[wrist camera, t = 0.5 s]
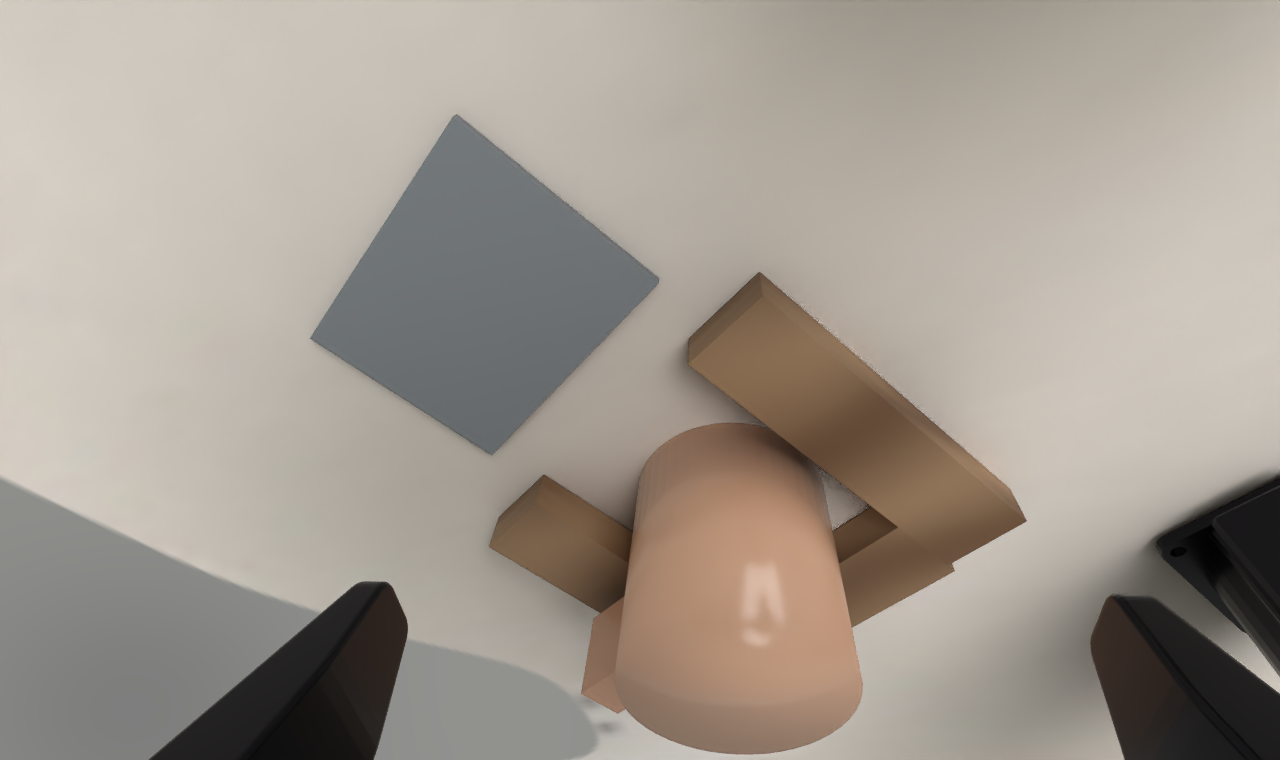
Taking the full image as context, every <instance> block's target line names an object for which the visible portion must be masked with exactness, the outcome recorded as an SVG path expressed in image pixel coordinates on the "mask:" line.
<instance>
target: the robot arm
mask: <svg viewBox="0 0 1280 760" xmlns="http://www.w3.org/2000/svg"><path fill="white" fill-rule="evenodd" d="M1156 548H1157V550H1158V552H1159V553H1160V554H1161V556H1162V557H1163V559H1164V560H1165V561H1166V562H1168V563H1169V564H1170V565H1171V566H1172V567H1173V568H1174V569H1175V570H1176V571H1177V572H1178V573H1180V574H1181V575H1182V576H1183V577H1184V578H1185V579H1186V580H1187V581H1188V582H1189V583H1190V584H1191V585H1193V586H1194V587H1195V588H1196V589H1197V590H1198V591H1199V592H1200V593H1201V594H1202V595H1203V596H1205V597H1206V598H1207V599H1208V600H1209V601H1210V602H1211V603H1212V604H1213V605H1214V606H1215V607H1216V608H1218V609H1219V610H1220V611H1221V612H1222V613H1223V614H1224V615H1225V616H1226V617H1227V618H1228V619H1229V620H1231V621H1232V622H1233V623H1234V624H1235V625H1236V626H1237V627H1238V628H1239V629H1240V630H1241V631H1243V632H1245V633H1247V634H1248V635H1249V637H1250V638H1251V639H1252V641H1253V642H1254V643H1255V645H1256V646H1257V647H1258V649H1259V650H1260V651H1261V653H1262V654H1263V655H1264V656H1265V658H1266V659H1267V660H1268V662H1269V663H1270V664H1271V666H1272V667H1273V668H1274V670H1275V671H1276V672H1277V674H1278V675H1279V676H1280V479H1278V480H1276V481H1274V482H1272V483H1270V484H1268V485H1266V486H1264V487H1262V488H1260V489H1258V490H1256V491H1254V492H1252V493H1250V494H1248V495H1246V496H1244V497H1242V498H1240V499H1238V500H1236V501H1234V502H1232V503H1230V504H1228V505H1226V506H1224V507H1222V508H1220V509H1218V510H1216V511H1214V512H1212V513H1210V514H1208V515H1206V516H1203V517H1201V518H1199V519H1197V520H1195V521H1193V522H1191V523H1189V524H1187V525H1185V526H1183V527H1181V528H1179V529H1177V530H1175V531H1173V532H1171V533H1169V534H1167V535H1165V536H1163V537H1162V538H1160V539H1159V540H1158V541H1157V543H1156ZM407 633H408V624H407V619H406V616H405V614H404V612H403V610H402V607H401V605H400V603H399V601H398V598H397V596H396V594H395V592H394V589H393V587H392V586H391V585H390V584H389V583H387V582H370V581H365V582H360V583H357V584H356V585H354V586H353V587H351V588H350V589H349V590H348V591H347V592H346V593H344V594H343V595H342V596H341V597H340V598H339V599H337V600H336V601H335V602H334V603H333V604H331V605H330V606H329V607H328V608H327V609H326V610H324V611H323V612H322V613H321V614H320V615H318V616H317V617H316V618H315V619H314V620H313V621H311V622H310V623H309V624H308V625H307V626H306V627H304V628H303V629H302V630H301V631H300V632H298V633H297V634H296V635H295V636H294V637H293V638H291V639H290V640H289V641H288V642H287V643H285V644H284V645H283V646H282V647H281V648H280V649H279V650H277V651H276V652H275V653H274V654H273V655H271V656H270V657H269V658H268V659H267V660H266V661H264V662H263V663H262V664H261V665H260V666H258V667H257V668H256V669H255V670H254V671H253V672H251V673H250V674H249V675H248V676H247V677H245V678H244V679H243V680H242V681H241V682H240V683H239V684H237V685H236V686H235V687H234V688H232V689H231V690H230V691H229V692H228V693H227V694H225V695H224V696H223V697H222V698H221V699H220V700H219V701H217V702H216V703H215V704H214V705H212V706H211V707H210V708H209V709H208V710H207V711H205V712H204V713H203V714H202V715H201V716H200V717H198V718H197V719H196V720H195V721H194V722H192V723H191V724H190V725H189V726H188V727H187V728H185V729H184V730H183V731H182V732H181V733H179V734H178V735H177V736H176V737H175V738H174V739H172V740H171V741H170V742H169V743H168V744H167V745H165V746H164V747H163V748H162V749H161V750H159V751H158V752H157V753H156V754H155V755H154V756H152V757H151V758H150V759H149V760H374V757H375V754H376V751H377V748H378V745H379V741H380V738H381V734H382V731H383V727H384V723H385V720H386V716H387V712H388V708H389V704H390V700H391V696H392V693H393V689H394V685H395V681H396V677H397V673H398V670H399V666H400V662H401V658H402V654H403V650H404V647H405V643H406V639H407ZM1090 644H1091V654H1092V658H1093V661H1094V664H1095V667H1096V671H1097V674H1098V677H1099V680H1100V683H1101V686H1102V690H1103V693H1104V696H1105V699H1106V702H1107V705H1108V708H1109V712H1110V715H1111V718H1112V721H1113V724H1114V727H1115V731H1116V734H1117V737H1118V740H1119V743H1120V746H1121V750H1122V753H1123V756H1124V759H1125V760H1280V694H1279V693H1278V692H1277V691H1276V690H1274V689H1273V688H1272V687H1270V686H1269V685H1268V684H1267V683H1265V682H1264V681H1263V680H1261V679H1260V678H1259V677H1257V676H1256V675H1255V674H1254V673H1252V672H1251V671H1250V670H1248V669H1247V668H1246V667H1245V666H1243V665H1242V664H1241V663H1239V662H1238V661H1237V660H1235V659H1234V658H1233V657H1232V656H1230V655H1229V654H1228V653H1226V652H1225V651H1224V650H1222V649H1221V648H1220V647H1219V646H1217V645H1216V644H1215V643H1213V642H1212V641H1211V640H1210V639H1208V638H1207V637H1206V636H1204V635H1203V634H1202V633H1200V632H1199V631H1198V630H1197V629H1195V628H1194V627H1193V626H1191V625H1190V624H1189V623H1188V622H1186V621H1185V620H1184V619H1182V618H1181V617H1180V616H1178V615H1177V614H1176V613H1175V612H1173V611H1172V610H1171V609H1169V608H1168V607H1167V606H1165V605H1164V604H1163V603H1162V602H1160V601H1159V600H1157V599H1156V598H1154V597H1152V596H1149V595H1146V594H1112V595H1111V596H1109V597H1108V598H1107V599H1106V601H1105V603H1104V606H1103V608H1102V611H1101V613H1100V616H1099V618H1098V621H1097V623H1096V626H1095V628H1094V631H1093V633H1092V636H1091V643H1090Z"/></svg>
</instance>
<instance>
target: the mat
mask: <svg viewBox="0 0 1280 760" xmlns="http://www.w3.org/2000/svg"><path fill="white" fill-rule="evenodd" d="M658 283H659V278H658V277H657V276H655V275H654V274H653V273H652V272H650V271H649V270H648V269H647V268H646V267H644V266H643V265H642V264H641V263H639V262H638V261H637V260H636V259H634V258H633V257H632V256H631V255H630V254H628V253H627V252H626V251H625V250H623V249H622V248H621V247H620V246H618V245H617V244H616V243H615V242H614V241H612V240H611V239H610V238H609V237H607V236H606V235H605V234H604V233H602V232H601V231H600V230H599V229H598V228H596V227H595V226H594V225H593V224H591V223H590V222H589V221H588V220H586V219H585V218H584V217H583V216H581V215H580V214H579V213H578V212H577V211H575V210H574V209H573V208H572V207H570V206H569V205H568V204H567V203H565V202H564V201H563V200H562V199H561V198H559V197H558V196H557V195H556V194H554V193H553V192H552V191H551V190H549V189H548V188H547V187H546V186H545V185H543V184H542V183H541V182H540V181H538V180H537V179H536V178H535V177H533V176H532V175H531V174H530V173H528V172H527V171H526V170H525V169H524V168H522V167H521V166H520V165H519V164H517V163H516V162H515V161H514V160H512V159H511V158H510V157H509V156H508V155H506V154H505V153H504V152H503V151H501V150H500V149H499V148H498V147H496V146H495V145H494V144H493V143H492V142H490V141H489V140H488V139H487V138H485V137H484V136H483V135H482V134H480V133H479V132H478V131H477V130H476V129H474V128H473V127H472V126H471V125H469V124H468V123H467V122H466V121H464V120H463V119H462V118H461V117H459V116H458V115H457V114H456V115H455V116H454V117H453V118H452V119H451V121H450V122H449V124H448V126H447V127H446V129H445V130H444V132H443V133H442V135H441V136H440V138H439V139H438V141H437V143H436V144H435V146H434V147H433V149H432V150H431V152H430V153H429V155H428V156H427V158H426V160H425V161H424V163H423V164H422V166H421V167H420V169H419V170H418V172H417V174H416V175H415V177H414V178H413V180H412V181H411V183H410V184H409V186H408V187H407V189H406V191H405V192H404V194H403V195H402V197H401V198H400V200H399V201H398V203H397V204H396V206H395V208H394V209H393V211H392V212H391V214H390V215H389V217H388V218H387V220H386V221H385V223H384V225H383V226H382V228H381V229H380V231H379V232H378V234H377V235H376V237H375V238H374V240H373V242H372V243H371V245H370V246H369V248H368V249H367V251H366V252H365V254H364V256H363V257H362V259H361V260H360V262H359V263H358V265H357V266H356V268H355V269H354V271H353V273H352V274H351V276H350V277H349V279H348V280H347V282H346V283H345V285H344V286H343V288H342V290H341V291H340V293H339V294H338V296H337V297H336V299H335V300H334V302H333V303H332V305H331V307H330V308H329V310H328V311H327V313H326V314H325V316H324V317H323V319H322V320H321V322H320V324H319V325H318V327H317V328H316V330H315V331H314V333H313V334H312V336H311V338H310V339H312V340H313V341H315V342H316V343H318V344H319V345H321V346H323V347H324V348H326V349H327V350H329V351H330V352H332V353H333V354H335V355H337V356H338V357H340V358H341V359H343V360H344V361H346V362H347V363H349V364H351V365H352V366H354V367H355V368H357V369H358V370H360V371H361V372H363V373H365V374H366V375H368V376H369V377H371V378H372V379H374V380H375V381H377V382H379V383H380V384H382V385H383V386H385V387H386V388H388V389H389V390H391V391H393V392H394V393H396V394H397V395H399V396H400V397H402V398H403V399H405V400H407V401H408V402H410V403H411V404H413V405H414V406H416V407H417V408H419V409H421V410H422V411H424V412H425V413H427V414H428V415H430V416H431V417H433V418H435V419H436V420H438V421H439V422H441V423H442V424H444V425H445V426H447V427H449V428H450V429H452V430H453V431H455V432H456V433H458V434H459V435H461V436H463V437H464V438H466V439H467V440H469V441H470V442H472V443H473V444H475V445H477V446H478V447H480V448H481V449H483V450H484V451H486V452H487V453H489V454H491V455H492V454H493V453H494V452H495V451H496V450H497V449H498V448H499V447H500V446H501V445H502V444H503V443H504V442H505V441H506V440H507V439H508V438H509V437H510V436H511V435H512V434H513V433H514V432H515V431H516V430H517V428H518V427H519V426H520V425H521V424H522V423H523V422H524V421H525V420H526V419H527V418H528V417H529V416H530V415H531V414H532V413H533V412H534V411H535V410H536V409H537V408H538V407H539V406H540V405H541V404H542V403H543V402H544V401H545V400H546V399H547V398H548V397H549V396H550V394H551V393H552V392H553V391H554V390H555V389H556V388H557V387H558V386H559V385H560V384H561V383H562V382H563V381H564V380H565V379H566V378H567V377H568V376H569V375H570V374H571V373H572V372H573V371H574V370H575V369H576V368H577V367H578V366H579V365H580V364H581V363H582V361H583V360H584V359H585V358H586V357H587V356H588V355H589V354H590V353H591V352H592V351H593V350H594V349H595V348H596V347H597V346H598V345H599V344H600V343H601V342H602V341H603V340H604V339H605V338H606V337H607V336H608V335H609V334H610V333H611V332H612V331H613V330H614V329H615V327H616V326H617V325H618V324H619V323H620V322H621V321H622V320H623V319H624V318H625V317H626V316H627V315H628V314H629V313H630V312H631V311H632V310H633V309H634V308H635V307H636V306H637V305H638V304H639V303H640V302H641V301H642V300H643V299H644V298H645V297H646V296H647V295H648V293H649V292H650V291H651V290H652V289H653V288H654V287H655V286H656V285H657V284H658Z"/></svg>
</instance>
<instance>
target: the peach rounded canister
mask: <svg viewBox="0 0 1280 760" xmlns="http://www.w3.org/2000/svg"><path fill="white" fill-rule="evenodd" d="M862 689H863V683H862V678H861V673H860V668H859V663H858V657H857V652H856V647H855V642H854V637H853V632H852V627H851V622H850V617H849V612H848V607H847V602H846V597H845V592H844V587H843V582H842V577H841V572H840V567H839V562H838V557H837V551H836V546H835V541H834V536H833V531H832V526H831V521H830V516H829V511H828V506H827V501H826V496H825V491H824V486H823V481H822V476H821V474H820V471H819V469H818V467H817V465H816V463H815V462H813V461H812V460H811V459H809V458H808V457H807V456H806V455H804V454H803V453H802V452H800V451H799V450H798V449H796V448H795V447H794V446H793V445H791V444H790V443H789V442H787V441H786V440H785V439H784V438H782V437H781V436H780V435H778V434H777V433H776V432H775V431H773V430H770V429H767V428H764V427H760V426H756V425H750V424H742V423H720V424H711V425H706V426H701V427H697V428H694V429H691V430H688V431H686V432H683V433H681V434H679V435H677V436H675V437H673V438H672V439H670V440H668V441H667V442H666V443H664V444H663V445H662V446H660V447H659V448H658V449H657V450H656V451H655V452H654V453H653V454H652V456H651V457H650V458H649V460H648V461H647V463H646V465H645V466H644V468H643V470H642V473H641V476H640V480H639V487H638V495H637V503H636V511H635V519H634V527H633V534H632V542H631V550H630V558H629V566H628V574H627V582H626V589H625V596H624V597H623V598H621V599H620V600H619V601H617V602H616V603H614V604H613V605H612V606H610V607H609V608H607V609H606V610H605V611H603V612H602V613H601V614H599V615H598V616H596V617H595V618H594V619H593V625H592V631H591V637H590V643H589V649H588V655H587V661H586V667H585V673H584V679H583V685H582V691H581V694H583V695H584V696H586V697H588V698H590V699H592V700H594V701H596V702H597V703H599V704H601V705H603V706H605V707H607V708H609V709H610V710H612V711H614V712H616V713H619V712H621V711H623V710H624V709H626V710H627V711H628V712H629V713H630V714H631V715H632V716H633V717H634V718H635V719H636V720H637V721H638V722H639V723H641V724H642V725H643V726H645V727H646V728H648V729H649V730H651V731H653V732H654V733H656V734H658V735H660V736H662V737H664V738H666V739H668V740H671V741H674V742H676V743H679V744H682V745H685V746H689V747H692V748H696V749H700V750H705V751H710V752H717V753H726V754H766V753H774V752H781V751H786V750H790V749H795V748H798V747H801V746H805V745H808V744H810V743H813V742H815V741H818V740H820V739H822V738H824V737H826V736H828V735H830V734H831V733H833V732H834V731H836V730H837V729H839V728H840V727H841V726H842V725H843V724H845V723H846V722H847V721H848V720H849V719H850V717H851V716H852V715H853V714H854V712H855V711H856V709H857V707H858V705H859V703H860V700H861V696H862Z"/></svg>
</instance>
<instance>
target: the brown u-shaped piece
mask: <svg viewBox="0 0 1280 760" xmlns="http://www.w3.org/2000/svg"><path fill="white" fill-rule="evenodd" d="M688 365H689V366H691V367H692V368H693V369H694V370H696V371H697V372H698V373H700V374H701V375H702V376H703V377H705V378H706V379H707V380H709V381H710V382H711V383H712V384H714V385H715V386H716V387H718V388H719V389H720V390H722V391H723V392H724V393H725V394H727V395H728V396H729V397H731V398H732V399H733V400H734V401H736V402H737V403H738V404H740V405H741V406H742V407H744V408H745V409H746V410H747V411H749V412H750V413H751V414H753V415H754V416H755V417H756V418H758V419H759V420H760V421H762V422H763V423H764V424H765V425H767V426H768V427H769V428H771V429H772V430H773V431H775V432H776V433H777V434H778V435H780V436H781V437H782V438H784V439H785V440H786V441H787V442H789V443H790V444H791V445H793V446H794V447H795V448H796V449H798V450H799V451H800V452H802V453H803V454H804V455H806V456H807V457H808V458H809V459H811V460H812V461H813V462H815V463H816V464H817V465H818V466H820V467H821V468H822V469H824V470H825V471H826V472H828V473H829V474H830V475H831V476H833V477H834V478H835V479H837V480H838V481H839V482H840V483H842V484H843V485H844V486H846V487H847V488H848V489H849V490H851V491H852V492H853V493H855V494H856V495H857V496H859V497H860V498H861V499H862V500H864V501H865V502H866V503H868V504H869V505H870V506H871V508H869V509H867V510H866V511H864V512H863V513H861V514H860V515H858V516H857V517H855V518H853V519H852V520H850V521H849V522H847V523H846V524H844V525H843V526H841V527H839V528H838V529H836V530H835V531H833V536H834V541H835V546H836V551H837V557H838V562H839V567H840V572H841V577H842V582H843V587H844V592H845V597H846V602H847V607H848V612H849V617H850V622H851V627H854V626H856V625H857V624H859V623H861V622H863V621H865V620H866V619H868V618H870V617H872V616H874V615H876V614H877V613H879V612H881V611H883V610H885V609H887V608H888V607H890V606H892V605H894V604H896V603H897V602H899V601H901V600H903V599H905V598H907V597H908V596H910V595H912V594H914V593H916V592H917V591H919V590H921V589H923V588H925V587H927V586H928V585H930V584H932V583H934V582H936V581H937V580H939V579H941V578H943V577H945V576H947V575H948V574H950V573H952V572H954V571H955V570H954V568H953V565H952V563H953V562H954V561H956V560H958V559H960V558H962V557H963V556H965V555H967V554H969V553H971V552H972V551H974V550H976V549H978V548H980V547H981V546H983V545H985V544H987V543H989V542H990V541H992V540H994V539H996V538H998V537H999V536H1001V535H1003V534H1005V533H1007V532H1008V531H1010V530H1012V529H1014V528H1015V527H1017V526H1019V525H1021V524H1023V523H1024V522H1026V521H1027V520H1026V518H1025V516H1024V515H1023V513H1022V511H1021V509H1020V507H1019V505H1018V503H1017V501H1016V499H1015V497H1014V496H1013V494H1012V492H1011V490H1010V489H1009V488H1008V487H1007V486H1006V485H1005V484H1004V483H1003V482H1001V481H1000V480H999V479H998V478H997V477H996V476H995V475H993V474H992V473H991V472H990V471H989V470H988V469H986V468H985V467H984V466H983V465H982V464H981V463H980V462H978V461H977V460H976V459H975V458H974V457H973V456H971V455H970V454H969V453H968V452H967V451H966V450H965V449H963V448H962V447H961V446H960V445H959V444H958V443H956V442H955V441H954V440H953V439H952V438H951V437H950V436H948V435H947V434H946V433H945V432H944V431H943V430H941V429H940V428H939V427H938V426H937V425H936V424H935V423H933V422H932V421H931V420H930V419H929V418H928V417H926V416H925V415H924V414H923V413H922V412H921V411H920V410H918V409H917V408H916V407H915V406H914V405H913V404H911V403H910V402H909V401H908V400H907V399H906V398H905V397H903V396H902V395H901V394H900V393H899V392H898V391H896V390H895V389H894V388H893V387H892V386H891V385H890V384H888V383H887V382H886V381H885V380H884V379H883V378H881V377H880V376H879V375H878V374H877V373H876V372H875V371H873V370H872V369H871V368H870V367H869V366H868V365H866V364H865V363H864V362H863V361H862V360H861V359H860V358H858V357H857V356H856V355H855V354H854V353H853V352H851V351H850V350H849V349H848V348H847V347H846V346H845V345H843V344H842V343H841V342H840V341H839V340H838V339H837V338H835V337H834V336H833V335H832V334H831V333H830V332H828V331H827V330H826V329H825V328H824V327H823V326H822V325H820V324H819V323H818V322H817V321H816V320H815V319H813V318H812V317H811V316H810V315H809V314H808V313H807V312H805V311H804V310H803V309H802V308H801V307H800V306H798V305H797V304H796V303H795V302H794V301H793V300H792V299H790V298H789V297H788V296H787V295H786V294H785V293H783V292H782V291H781V290H780V289H779V288H778V287H777V286H775V285H774V284H773V283H772V282H771V281H770V280H768V279H767V278H766V277H765V276H764V275H763V274H762V273H760V272H759V273H758V274H757V275H756V276H755V277H754V278H753V279H752V280H751V281H749V282H748V283H747V284H746V285H745V286H744V287H743V288H742V289H741V290H740V291H739V292H738V293H737V294H736V295H735V296H734V297H732V298H731V299H730V300H729V301H728V302H727V303H726V304H725V305H724V306H723V307H722V308H721V309H720V310H719V311H718V312H717V313H715V314H714V315H713V316H712V317H711V318H710V319H709V320H708V321H707V322H706V323H705V324H704V325H703V326H702V327H701V328H700V329H698V330H697V331H696V332H695V333H694V334H693V335H692V336H691V337H690V338H689V353H688ZM632 534H633V532H631V531H630V530H628V529H627V528H625V527H624V526H622V525H621V524H619V523H618V522H616V521H614V520H613V519H611V518H610V517H608V516H607V515H605V514H604V513H602V512H601V511H599V510H598V509H596V508H594V507H593V506H591V505H590V504H588V503H587V502H585V501H584V500H582V499H581V498H579V497H578V496H576V495H575V494H573V493H571V492H570V491H568V490H567V489H565V488H564V487H562V486H561V485H559V484H558V483H556V482H555V481H553V480H551V479H550V478H548V477H547V476H545V475H543V476H542V477H541V478H540V479H539V480H538V481H537V482H536V483H535V484H534V485H533V486H532V487H531V488H529V489H528V490H527V491H526V492H525V493H524V494H523V495H522V496H521V497H520V498H519V499H518V500H517V501H516V502H515V503H514V504H512V505H511V506H510V507H509V508H508V509H507V510H506V511H505V512H504V513H503V514H502V515H501V516H500V517H499V519H498V522H497V525H496V528H495V530H494V533H493V536H492V539H491V542H490V545H489V547H490V548H492V549H493V550H495V551H497V552H499V553H500V554H502V555H504V556H505V557H507V558H509V559H510V560H512V561H514V562H515V563H517V564H519V565H520V566H522V567H524V568H526V569H527V570H529V571H531V572H532V573H534V574H536V575H537V576H539V577H541V578H542V579H544V580H546V581H547V582H549V583H551V584H553V585H554V586H556V587H558V588H559V589H561V590H563V591H564V592H566V593H568V594H569V595H571V596H573V597H574V598H576V599H578V600H580V601H581V602H583V603H585V604H586V605H588V606H590V607H591V608H593V609H595V610H596V611H598V612H600V613H602V612H603V611H605V610H606V609H607V608H609V607H610V606H612V605H613V604H614V603H616V602H617V601H619V600H620V599H621V598H623V597H624V596H625V589H626V582H627V574H628V566H629V558H630V550H631V542H632Z"/></svg>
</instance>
